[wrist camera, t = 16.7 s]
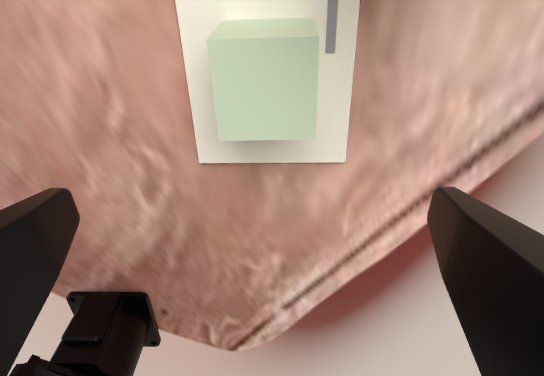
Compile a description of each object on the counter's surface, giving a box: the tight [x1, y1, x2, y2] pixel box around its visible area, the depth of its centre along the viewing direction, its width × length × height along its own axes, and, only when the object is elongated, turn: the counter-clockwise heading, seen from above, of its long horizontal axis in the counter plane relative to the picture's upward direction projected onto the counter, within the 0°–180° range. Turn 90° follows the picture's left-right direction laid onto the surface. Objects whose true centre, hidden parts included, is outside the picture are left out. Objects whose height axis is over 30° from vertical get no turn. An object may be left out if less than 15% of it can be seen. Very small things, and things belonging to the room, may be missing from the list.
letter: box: [175, 0, 360, 163], centre depth 20 cm, size 12×9×1 cm
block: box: [207, 17, 319, 141], centre depth 18 cm, size 4×4×4 cm
